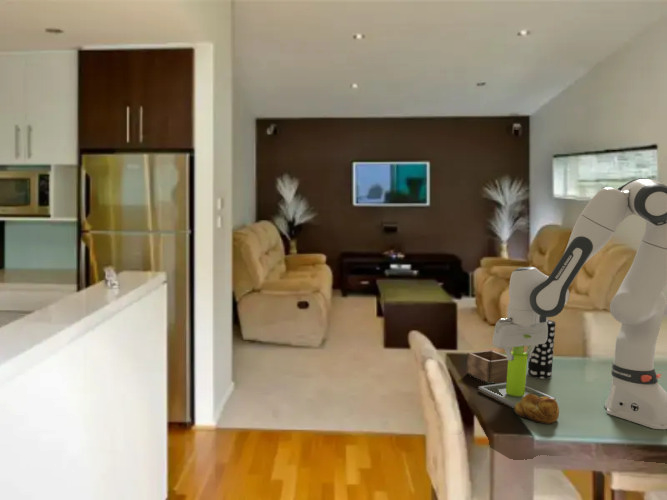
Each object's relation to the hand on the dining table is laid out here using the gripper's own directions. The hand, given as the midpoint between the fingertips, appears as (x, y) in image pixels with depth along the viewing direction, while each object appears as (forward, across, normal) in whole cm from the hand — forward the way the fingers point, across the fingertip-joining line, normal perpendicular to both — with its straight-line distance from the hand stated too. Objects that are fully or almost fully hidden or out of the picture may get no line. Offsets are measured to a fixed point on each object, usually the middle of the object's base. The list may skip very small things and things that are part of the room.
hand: (518, 359), depth 199 cm
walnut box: (+13, +6, +20) cm, 25 cm away
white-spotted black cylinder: (+13, +26, +16) cm, 33 cm away
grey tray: (+13, 0, 0) cm, 13 cm away
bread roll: (+13, -7, -16) cm, 22 cm away
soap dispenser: (+12, 0, 0) cm, 12 cm away
